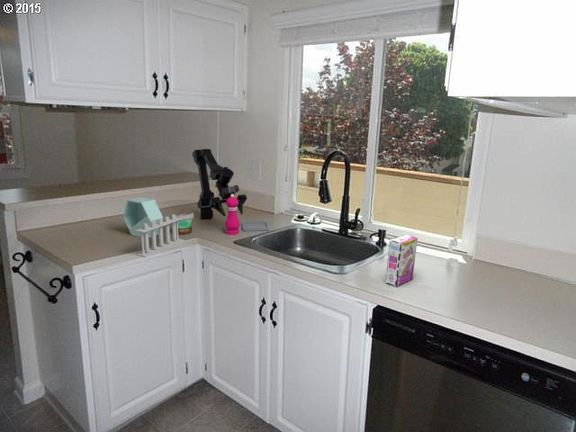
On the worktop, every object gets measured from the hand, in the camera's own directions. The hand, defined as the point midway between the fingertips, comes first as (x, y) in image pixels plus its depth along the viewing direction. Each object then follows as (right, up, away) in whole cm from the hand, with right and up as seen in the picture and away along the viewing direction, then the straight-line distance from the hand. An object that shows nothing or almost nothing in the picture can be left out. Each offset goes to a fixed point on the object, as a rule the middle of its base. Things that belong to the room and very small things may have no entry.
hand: (233, 215), depth 193 cm
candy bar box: (+67, -25, -51) cm, 88 cm away
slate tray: (+10, -7, +14) cm, 18 cm away
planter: (-43, -10, -3) cm, 44 cm away
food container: (-24, -9, +1) cm, 26 cm away
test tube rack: (-29, -15, -21) cm, 39 cm away
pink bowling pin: (-1, -9, +4) cm, 10 cm away
